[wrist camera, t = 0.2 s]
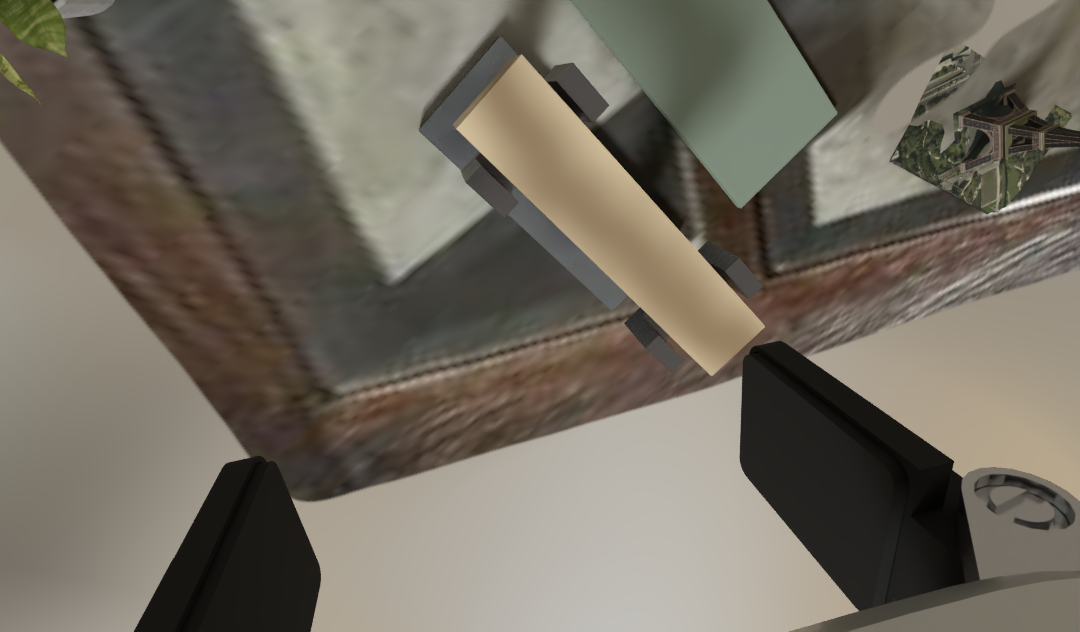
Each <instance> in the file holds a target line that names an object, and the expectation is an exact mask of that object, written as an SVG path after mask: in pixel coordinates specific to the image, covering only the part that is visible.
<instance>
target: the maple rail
mask: <svg viewBox="0 0 1080 632" xmlns="http://www.w3.org/2000/svg"><path fill="white" fill-rule="evenodd" d="M453 125H454V127H455V128H456V129H457V130H458V131H459V132H460V133H461V134H462V135H463V136H464V137H465V138H466V139H467V140H468V141H469V142H470V143H471V144H472V145H473V146H474V147H475V148H476V149H477V150H478V151H479V152H480V153H482V154H483V155H484V156H485V157H486V158H487V159H488V160H489V161H490V162H491V163H492V164H493V165H494V166H495V167H496V168H497V169H498V170H499V171H500V172H501V173H502V174H503V175H504V176H505V177H506V178H507V179H508V180H509V181H510V182H511V183H512V184H514V185H515V186H516V187H517V188H518V189H519V190H520V191H521V192H522V193H523V194H524V195H525V196H526V197H527V198H528V199H529V200H530V201H531V202H532V203H533V204H534V205H535V206H536V207H537V208H538V209H539V210H540V211H541V212H542V213H543V214H545V215H546V216H547V217H548V218H549V219H550V220H551V221H552V222H553V223H554V224H555V225H556V226H557V227H558V228H559V229H560V230H561V231H562V232H563V233H564V234H565V235H566V236H567V237H568V238H569V239H570V240H571V241H572V242H573V243H574V244H575V245H577V246H578V247H579V248H580V249H581V250H582V251H583V252H584V253H585V254H586V255H587V256H588V257H589V258H590V259H591V260H592V261H593V262H594V263H595V264H596V265H597V266H598V267H599V268H600V269H601V270H602V271H603V272H604V273H605V274H606V275H608V276H609V277H610V278H611V279H612V280H613V281H614V282H615V283H616V284H617V285H618V286H619V287H620V288H621V289H622V290H623V291H624V292H625V293H626V294H627V295H628V296H629V297H630V298H631V299H632V300H633V301H634V302H635V303H636V304H637V305H639V306H640V307H641V308H642V309H643V310H644V311H645V312H646V313H647V314H648V315H649V316H650V317H651V318H652V319H653V320H654V321H655V322H656V323H657V324H658V325H659V326H660V327H661V328H662V329H663V330H664V331H665V332H666V333H667V334H668V335H669V336H671V337H672V338H673V339H674V340H675V341H676V342H677V343H678V344H679V345H680V346H681V347H682V348H683V349H684V350H685V351H686V352H687V353H688V354H689V355H690V356H691V357H692V358H693V359H694V360H695V361H696V362H697V363H698V364H699V365H700V366H702V367H703V368H704V369H705V370H706V371H707V372H708V373H709V374H710V375H711V376H713V375H714V374H715V373H716V372H717V371H718V370H719V369H720V368H721V367H722V366H723V365H724V364H726V363H727V362H728V361H729V360H730V359H731V358H732V357H733V356H734V355H735V354H736V353H737V352H738V351H740V350H741V349H742V348H743V347H744V346H745V345H746V344H747V343H748V342H749V341H750V340H751V339H752V338H754V337H755V336H756V335H757V334H758V333H759V332H760V331H761V330H762V329H763V328H764V327H765V326H764V325H763V324H762V322H761V321H760V320H759V319H758V318H757V317H756V316H755V315H754V313H753V312H752V311H751V310H750V309H749V308H748V307H747V306H746V305H745V303H744V302H743V301H742V300H741V299H740V298H739V297H738V296H737V294H736V293H735V292H734V291H733V290H732V289H731V288H730V287H729V286H728V284H727V283H726V282H725V281H724V280H723V279H722V278H721V277H720V275H719V274H718V273H717V272H716V271H715V270H714V269H713V268H712V266H711V265H710V264H709V263H708V262H707V261H706V260H705V259H704V258H703V256H702V255H701V254H700V253H699V252H698V251H697V250H696V249H695V247H694V246H693V245H692V244H691V243H690V242H689V241H688V240H687V239H686V237H685V236H684V235H683V234H682V233H681V232H680V231H679V230H678V228H677V227H676V226H675V225H674V224H673V223H672V222H671V221H670V220H669V218H668V217H667V216H666V215H665V214H664V213H663V212H662V211H661V209H660V208H659V207H658V206H657V205H656V204H655V203H654V202H653V201H652V199H651V198H650V197H649V196H648V195H647V194H646V193H645V192H644V190H643V189H642V188H641V187H640V186H639V185H638V184H637V183H636V182H635V180H634V179H633V178H632V177H631V176H630V175H629V174H628V173H627V171H626V170H625V169H624V168H623V167H622V166H621V165H620V164H619V163H618V161H617V160H616V159H615V158H614V157H613V156H612V155H611V154H610V152H609V151H608V150H607V149H606V148H605V147H604V146H603V145H602V144H601V142H600V141H599V140H598V139H597V138H596V137H595V136H594V135H593V133H592V132H591V131H590V130H589V129H588V128H587V127H586V126H585V125H584V123H583V122H582V121H581V120H580V119H579V118H578V117H577V116H576V114H575V113H574V112H573V111H572V110H571V109H570V108H569V107H568V106H567V104H566V103H565V102H564V101H563V100H562V99H561V98H560V97H559V95H558V94H557V93H556V92H555V91H554V90H553V89H552V88H551V87H550V85H549V84H548V83H547V82H546V81H545V80H544V79H543V78H542V76H541V75H540V74H539V73H538V72H537V71H536V70H535V69H534V68H533V66H532V65H531V64H530V63H529V62H528V61H527V60H526V59H525V57H524V56H523V55H522V54H521V55H518V56H515V57H512V58H510V59H509V61H508V62H507V63H506V64H505V65H504V66H503V67H502V69H501V70H500V71H499V72H498V73H497V74H496V75H495V77H494V78H493V79H492V80H491V81H490V82H489V83H488V85H487V86H486V87H485V88H484V89H483V90H482V92H481V93H480V94H479V95H478V96H477V97H476V98H475V100H474V101H473V102H472V103H471V104H470V105H469V106H468V108H467V109H466V110H465V111H464V112H463V113H462V114H461V116H460V117H459V118H458V119H457V120H456V121H455V122H454V124H453Z"/></svg>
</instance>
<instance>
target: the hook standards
mask: <svg viewBox="0 0 1080 632" xmlns="http://www.w3.org/2000/svg"><path fill="white" fill-rule="evenodd" d="M515 56H518V54H517V53H516V52H515V51H514V50H513V49H512V48H511V46H510V45H509V44H508V43H507V42H506V41H505V40H504V39H503V38H502V36H500V37H498V39H497V40H496V41H495V42H494V43H493V44H492V46H491V47H490V48H489V49H488V50H487V51H486V52H485V54H484V55H483V56H482V57H481V58H480V59H479V61H478V62H477V63H476V64H475V65H474V66H473V68H472V69H471V70H470V71H469V72H468V73H467V75H466V76H465V77H464V78H463V79H462V80H461V81H460V83H459V84H458V85H457V86H456V87H455V88H454V90H453V91H452V92H451V93H450V94H449V95H448V97H447V98H446V99H445V100H444V101H443V102H442V103H441V105H440V106H439V107H438V108H437V109H436V110H435V112H434V113H433V114H432V115H431V116H430V117H429V119H428V120H427V121H426V122H425V123H424V124H423V125H422V127H421V128H420V129H419V132H420V133H421V134H423V135H424V136H425V137H426V138H427V139H428V140H429V141H430V142H431V143H432V144H433V145H434V146H435V147H436V148H438V149H439V150H440V151H441V152H442V153H443V154H444V155H445V156H446V157H447V158H448V159H449V160H450V161H452V162H453V163H454V164H455V165H456V166H457V167H458V168H459V169H460V170H461V173H462V175H463V178H464V180H465V182H466V183H467V184H468V185H469V186H470V187H471V188H472V189H473V190H475V191H476V192H477V193H478V194H479V195H480V196H481V197H482V198H483V199H484V200H485V201H486V202H488V203H489V204H490V205H491V206H492V207H493V208H494V209H495V210H496V211H497V212H498V213H499V214H501V215H502V216H503V217H504V218H505V217H506V216H507V215H510V216H511V217H512V218H513V219H514V220H515V221H516V222H517V223H518V224H519V225H520V226H521V227H522V228H524V229H525V230H526V231H527V232H528V233H529V234H530V235H531V236H532V237H533V238H534V239H535V240H536V241H537V242H539V243H540V244H541V245H542V246H543V247H544V248H545V249H546V250H547V251H548V252H549V253H550V254H551V255H553V256H554V257H555V258H556V259H557V260H558V261H559V262H560V263H561V264H562V265H563V266H564V267H565V268H566V269H568V270H569V271H570V272H571V273H572V274H573V275H574V276H575V277H576V278H577V279H578V280H579V281H580V282H582V283H583V284H584V285H585V286H586V287H587V288H588V289H589V290H590V291H591V292H592V293H593V294H594V295H595V296H597V297H598V298H599V299H600V300H601V301H602V302H603V303H604V304H605V305H606V306H607V307H608V308H609V309H611V310H612V311H613V310H614V309H615V308H616V307H617V306H618V305H619V304H620V303H621V302H622V301H623V300H624V299H625V298H626V297H627V296H628V295H627V294H626V293H625V292H624V291H623V290H622V289H621V288H620V287H619V286H618V285H617V284H616V283H615V282H614V281H613V280H612V279H611V278H610V277H609V276H608V275H606V274H605V273H604V272H603V271H602V270H601V269H600V268H599V267H598V266H597V265H596V264H595V263H594V262H593V261H592V260H591V259H590V258H589V257H588V256H587V255H586V254H585V253H584V252H583V251H582V250H581V249H580V248H579V247H578V246H577V245H575V244H574V243H573V242H572V241H571V240H570V239H569V238H568V237H567V236H566V235H565V234H564V233H563V232H562V231H561V230H560V229H559V228H558V227H557V226H556V225H555V224H554V223H553V222H552V221H551V220H550V219H549V218H548V217H547V216H546V215H545V214H543V213H542V212H541V211H540V210H539V209H538V208H537V207H536V206H535V205H534V204H533V203H532V202H531V201H530V200H529V199H528V198H527V197H526V196H525V195H524V194H523V193H522V192H521V191H520V190H519V189H518V188H517V187H516V186H515V185H514V184H512V183H511V182H510V181H509V180H508V179H507V178H506V177H505V176H504V175H503V174H502V173H501V172H500V171H499V170H498V169H497V168H496V167H495V166H494V165H493V164H492V163H491V162H490V161H489V160H488V159H487V158H486V157H485V156H484V155H483V154H482V153H480V152H479V151H478V150H477V149H476V148H475V147H474V146H473V145H472V144H471V143H470V142H469V141H468V140H467V139H466V138H465V137H464V136H463V135H462V134H461V133H460V132H459V131H458V130H457V129H456V128H455V127H454V125H453V124H454V122H455V121H456V120H457V119H458V118H459V117H460V116H461V114H462V113H463V112H464V111H465V110H466V109H467V108H468V106H469V105H470V104H471V103H472V102H473V101H474V100H475V98H476V97H477V96H478V95H479V94H480V93H481V92H482V90H483V89H484V88H485V87H486V86H487V85H488V83H489V82H490V81H491V80H492V79H493V78H494V77H495V75H496V74H497V73H498V72H499V71H500V70H501V69H502V67H503V66H504V65H505V64H506V63H507V62H508V61H509V59H510V58H512V57H515ZM544 80H545V81H546V82H547V83H548V84H549V85H550V87H551V88H552V89H553V90H554V91H555V92H556V93H557V94H558V95H559V97H560V98H561V99H562V100H563V101H564V102H565V103H566V104H567V106H568V107H569V108H570V109H571V110H572V111H573V112H574V113H575V114H576V116H577V117H578V118H579V119H580V120H583V121H588V122H594V121H595V120H596V119H597V118H598V117H599V116H600V115H601V114H602V113H603V112H604V110H605V109H606V108H607V107H608V106H609V104H608V103H607V102H606V101H605V100H604V99H603V97H602V96H601V95H600V94H599V93H598V92H597V90H596V89H595V88H594V87H593V86H592V85H591V83H590V82H589V81H588V80H587V79H586V77H585V76H584V75H583V74H582V73H581V72H580V70H579V69H578V68H577V67H576V66H575V65H574V63H568V64H562V65H555V66H554V67H553V68H552V70H551V71H550V72H549V73H548V74H547V75H546V76H545V77H544ZM698 252H699V253H700V254H701V255H702V256H703V258H704V259H705V260H706V261H707V262H708V263H709V264H710V265H711V266H712V268H713V269H714V270H715V271H716V272H717V273H718V274H719V275H720V277H721V278H722V279H723V280H724V281H725V282H726V283H727V284H728V286H730V287H731V288H733V289H735V290H736V291H738V292H739V293H741V294H742V295H744V296H745V297H747V298H748V299H750V298H751V297H752V296H753V295H754V294H755V293H756V292H757V291H759V290H760V289H761V288H762V287H763V285H762V284H761V283H760V282H759V281H758V279H757V278H756V277H755V276H754V275H753V274H752V272H751V271H750V270H749V269H748V268H747V266H746V265H745V264H744V263H743V262H742V261H741V259H740V258H738V257H737V256H735V255H733V254H731V253H729V252H727V251H726V250H724V249H722V248H720V247H718V246H716V245H715V244H713V243H711V242H709V241H707V242H706V243H705V244H704V245H703V246H702V247H701V248H700V249H699V250H698ZM625 325H626V326H627V327H628V328H629V329H630V331H631V332H632V333H633V334H634V335H635V337H636V338H637V339H638V340H639V341H640V342H641V344H642V345H643V346H644V347H645V348H646V349H647V350H648V351H649V352H650V353H651V354H652V355H653V356H654V357H655V358H657V359H658V360H659V361H660V362H661V363H662V364H663V365H664V366H665V367H666V368H667V369H668V370H670V371H671V372H673V371H674V370H675V369H676V368H677V367H678V366H679V365H680V364H681V363H682V362H683V361H684V359H683V358H682V357H681V356H680V355H679V354H678V353H677V352H676V350H675V349H674V348H673V347H672V346H671V345H670V344H669V343H668V342H667V341H666V339H667V338H668V337H670V336H669V335H668V334H667V333H666V332H665V331H664V330H663V329H662V328H661V327H660V326H659V325H658V324H657V323H656V322H655V321H654V320H653V319H652V318H651V317H650V316H649V315H648V314H647V313H646V312H645V311H644V310H643V309H642V308H641V307H640V308H639V309H638V310H637V311H636V312H635V313H634V314H633V315H632V316H631V317H630V318H629V319H628V320H627V321H626V322H625Z"/></svg>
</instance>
